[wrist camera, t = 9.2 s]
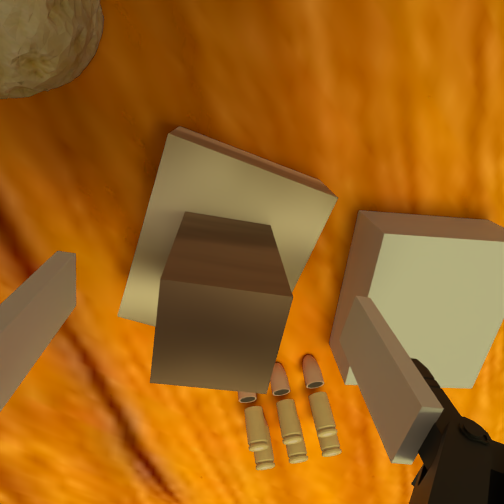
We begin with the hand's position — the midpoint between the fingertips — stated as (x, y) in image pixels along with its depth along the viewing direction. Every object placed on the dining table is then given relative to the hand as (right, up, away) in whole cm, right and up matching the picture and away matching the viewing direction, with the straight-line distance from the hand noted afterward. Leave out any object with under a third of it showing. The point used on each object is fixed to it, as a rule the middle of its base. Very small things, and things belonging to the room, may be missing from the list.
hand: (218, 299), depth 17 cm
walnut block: (0, +2, +5) cm, 5 cm away
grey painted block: (+14, 0, +12) cm, 18 cm away
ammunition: (+4, -11, +16) cm, 20 cm away
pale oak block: (-1, +4, +9) cm, 10 cm away
